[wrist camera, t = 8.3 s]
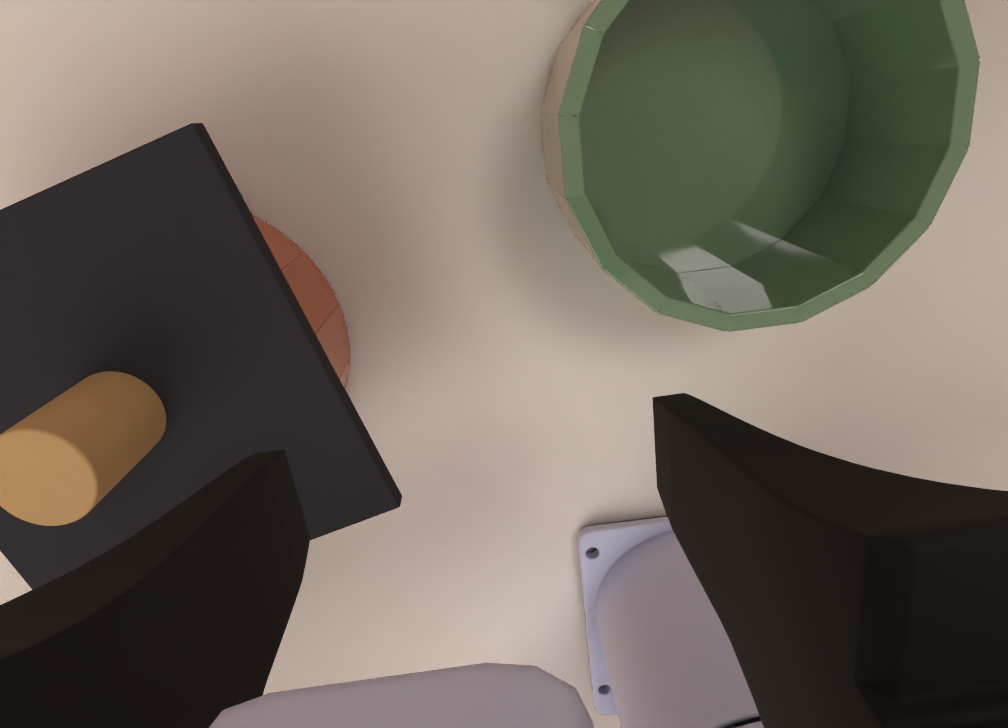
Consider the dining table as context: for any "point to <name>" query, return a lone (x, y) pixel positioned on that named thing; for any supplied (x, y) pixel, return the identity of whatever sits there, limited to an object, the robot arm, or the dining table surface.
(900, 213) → the sage cup
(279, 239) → the terracotta cup
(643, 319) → the dining table surface
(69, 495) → the dark square pegged slab
